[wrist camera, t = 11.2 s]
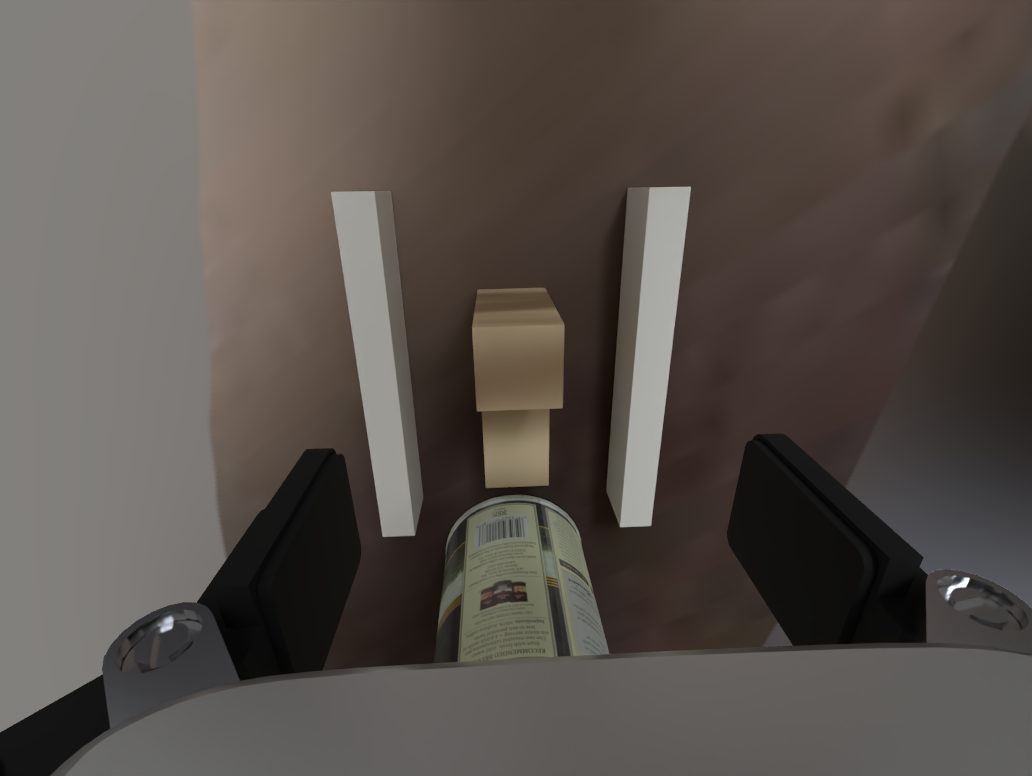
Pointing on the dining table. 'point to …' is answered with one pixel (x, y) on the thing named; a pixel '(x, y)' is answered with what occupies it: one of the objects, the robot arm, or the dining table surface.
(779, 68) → the dining table surface
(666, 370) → the white rectangular posts
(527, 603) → the coffee can
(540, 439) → the wooden rectangular block
